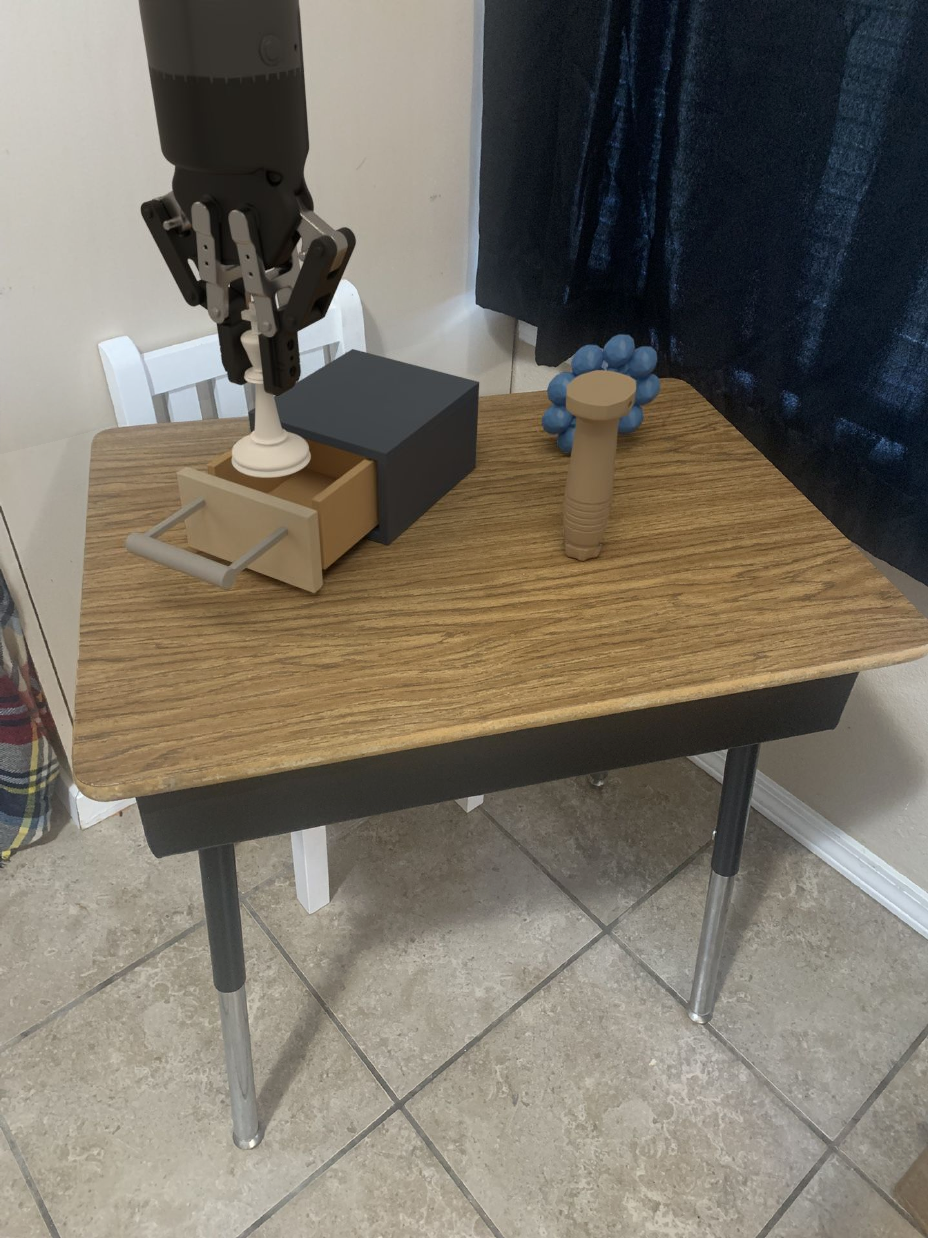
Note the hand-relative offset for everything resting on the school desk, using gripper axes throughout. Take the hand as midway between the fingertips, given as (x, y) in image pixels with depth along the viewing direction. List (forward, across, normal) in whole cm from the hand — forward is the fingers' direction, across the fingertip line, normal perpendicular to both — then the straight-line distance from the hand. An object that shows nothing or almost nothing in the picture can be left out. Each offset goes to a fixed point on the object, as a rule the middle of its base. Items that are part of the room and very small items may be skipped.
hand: (262, 383), depth 59 cm
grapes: (+21, -6, -41) cm, 47 cm away
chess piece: (+5, 0, 0) cm, 5 cm away
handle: (+21, -12, -24) cm, 34 cm away
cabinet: (+21, +9, -23) cm, 33 cm away
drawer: (+20, +9, -9) cm, 24 cm away
